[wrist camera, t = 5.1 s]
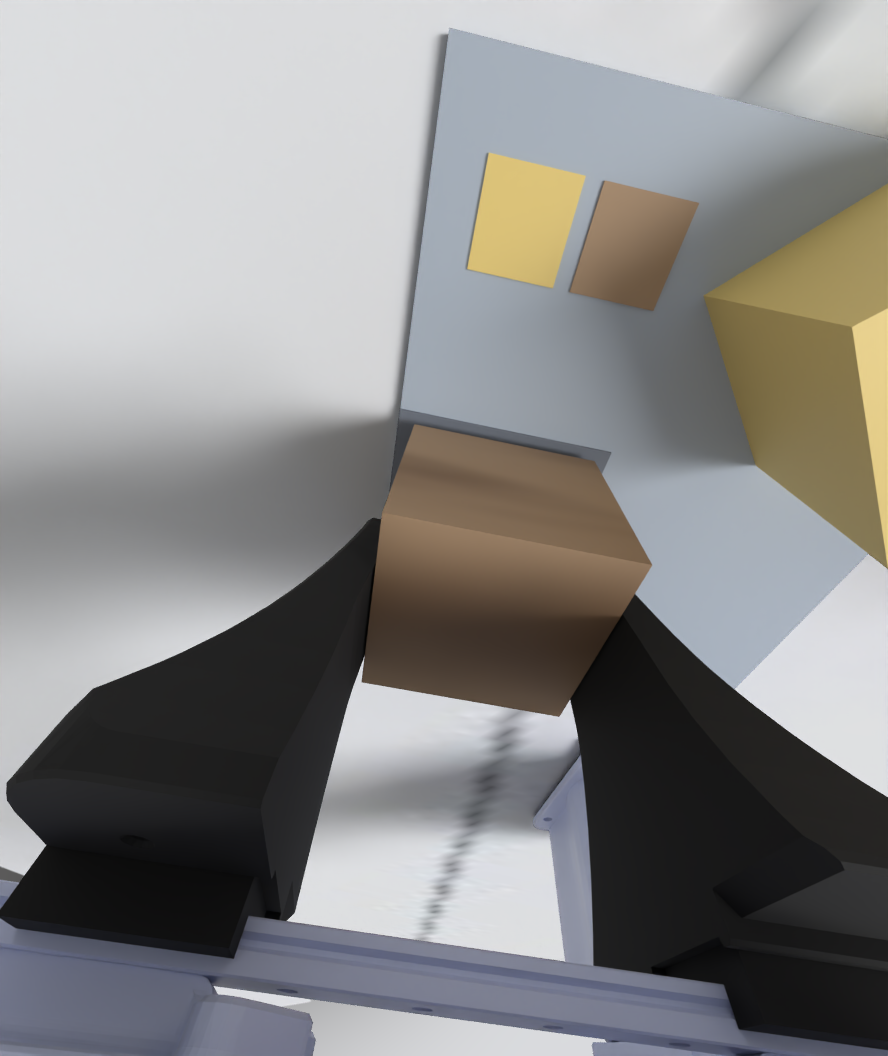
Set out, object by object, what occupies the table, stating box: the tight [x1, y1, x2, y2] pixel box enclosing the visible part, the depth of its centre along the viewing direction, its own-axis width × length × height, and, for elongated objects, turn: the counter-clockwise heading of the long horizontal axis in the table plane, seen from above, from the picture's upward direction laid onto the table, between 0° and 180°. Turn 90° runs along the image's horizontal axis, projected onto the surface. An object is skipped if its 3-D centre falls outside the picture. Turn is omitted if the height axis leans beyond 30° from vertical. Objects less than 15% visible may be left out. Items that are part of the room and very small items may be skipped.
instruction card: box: [389, 28, 888, 689], centre depth 13 cm, size 18×15×1 cm
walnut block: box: [362, 424, 652, 717], centre depth 11 cm, size 5×5×4 cm
